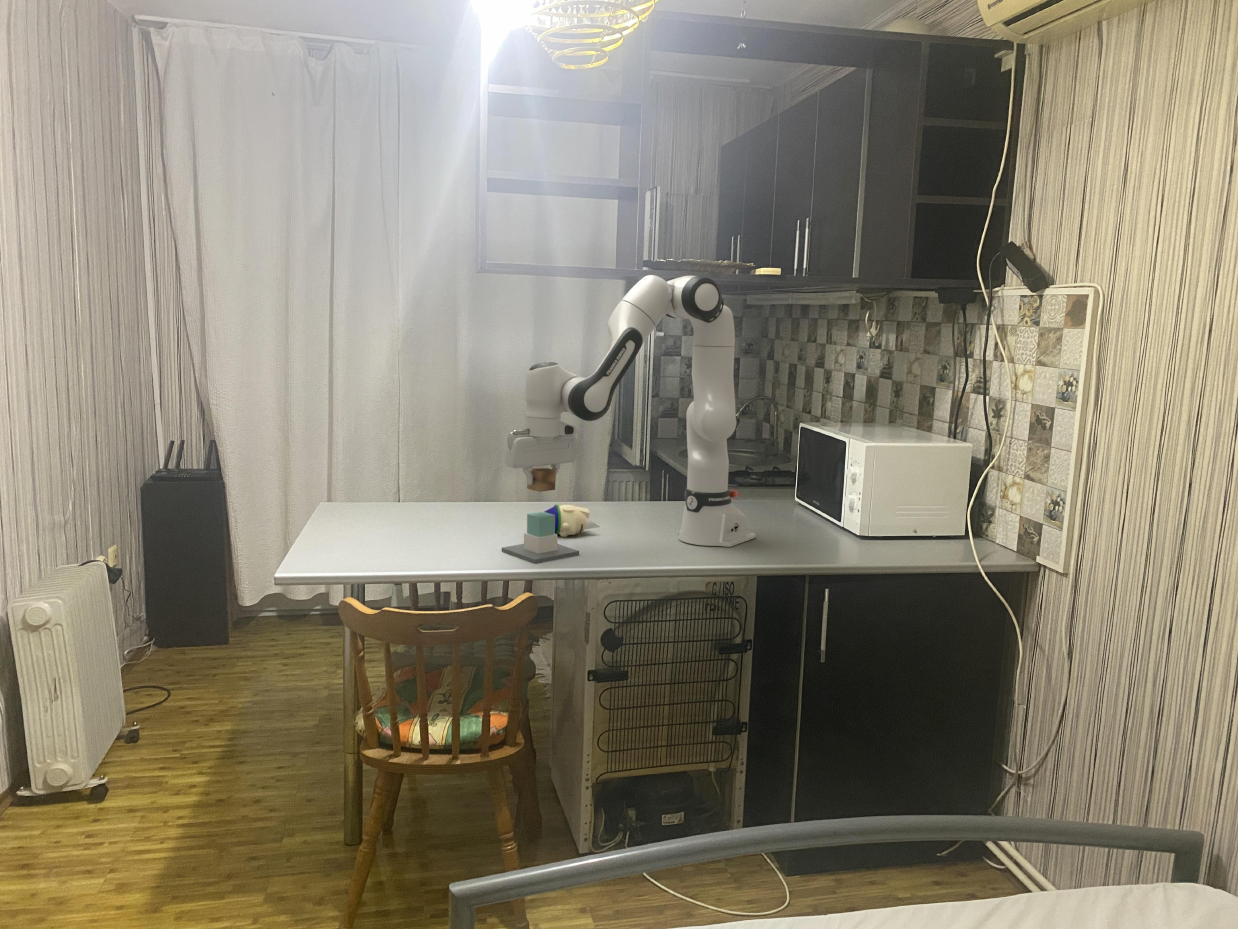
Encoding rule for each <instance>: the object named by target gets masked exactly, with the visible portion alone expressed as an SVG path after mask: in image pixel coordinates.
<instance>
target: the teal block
mask: <svg viewBox="0 0 1238 929" xmlns="http://www.w3.org/2000/svg"><path fill="white" fill-rule="evenodd" d="M526 521H527V522H526V533H528V534H531V535H534V536H537V537H543V536H549V535H555V515H553V514H549V513H546V512H544V511H539V512H538V511H537V512H532V513H527V515H526Z"/></svg>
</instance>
